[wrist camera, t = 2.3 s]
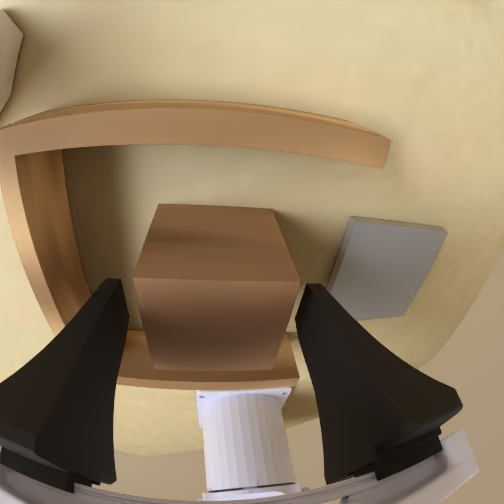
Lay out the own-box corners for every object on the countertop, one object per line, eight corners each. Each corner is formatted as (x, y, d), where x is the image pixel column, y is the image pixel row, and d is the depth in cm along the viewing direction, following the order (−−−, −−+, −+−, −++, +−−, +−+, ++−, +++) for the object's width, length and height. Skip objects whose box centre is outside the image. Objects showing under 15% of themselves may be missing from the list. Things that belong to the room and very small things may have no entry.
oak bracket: (284, 341, 18) (295, 385, 15) (92, 335, 16) (80, 378, 13) (345, 120, 10) (390, 140, 7) (42, 112, 8) (-7, 131, 5)
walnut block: (256, 291, 15) (272, 369, 11) (164, 289, 14) (153, 369, 10) (271, 208, 12) (301, 281, 8) (159, 203, 12) (133, 277, 8)
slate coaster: (399, 309, 18) (403, 315, 18) (315, 316, 17) (317, 323, 16) (441, 227, 14) (447, 232, 14) (350, 216, 13) (356, 222, 13)
